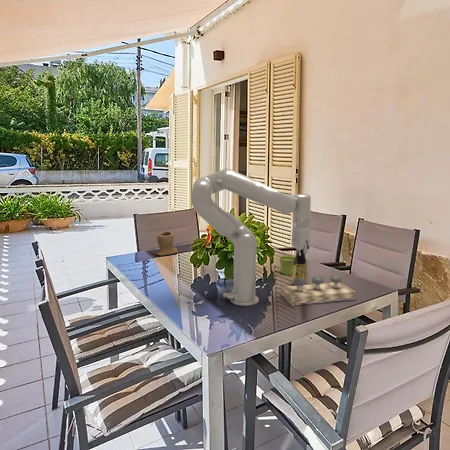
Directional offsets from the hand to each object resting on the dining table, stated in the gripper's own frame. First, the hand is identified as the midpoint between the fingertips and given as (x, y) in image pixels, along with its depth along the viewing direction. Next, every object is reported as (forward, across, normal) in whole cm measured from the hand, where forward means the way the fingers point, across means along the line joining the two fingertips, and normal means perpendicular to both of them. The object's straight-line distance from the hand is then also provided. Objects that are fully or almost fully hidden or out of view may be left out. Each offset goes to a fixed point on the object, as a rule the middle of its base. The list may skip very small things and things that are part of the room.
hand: (300, 263), depth 178 cm
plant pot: (+17, -38, +9) cm, 43 cm away
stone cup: (+15, -95, -50) cm, 108 cm away
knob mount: (+17, 0, +8) cm, 19 cm away
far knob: (+14, 0, +17) cm, 22 cm away
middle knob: (+14, 0, +8) cm, 16 cm away
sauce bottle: (+17, -18, +7) cm, 26 cm away
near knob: (+13, 0, -1) cm, 14 cm away
